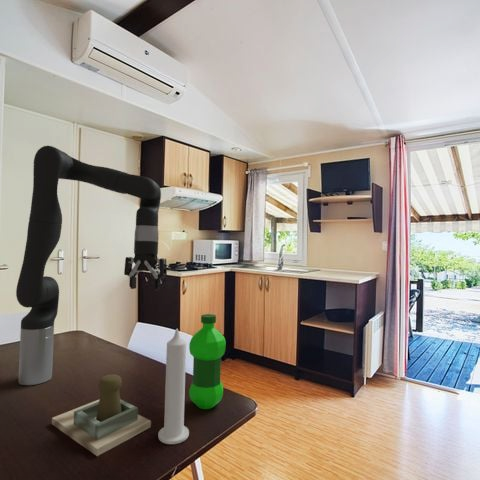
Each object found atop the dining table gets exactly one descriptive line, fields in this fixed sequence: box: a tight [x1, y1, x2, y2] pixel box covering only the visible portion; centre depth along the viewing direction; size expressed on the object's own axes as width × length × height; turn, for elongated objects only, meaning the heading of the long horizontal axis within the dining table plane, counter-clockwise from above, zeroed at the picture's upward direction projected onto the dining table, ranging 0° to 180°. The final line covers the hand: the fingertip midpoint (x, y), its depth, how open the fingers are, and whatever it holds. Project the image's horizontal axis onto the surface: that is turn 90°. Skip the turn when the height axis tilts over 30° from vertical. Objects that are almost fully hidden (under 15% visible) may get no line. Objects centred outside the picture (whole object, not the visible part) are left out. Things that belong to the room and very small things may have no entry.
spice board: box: [51, 398, 152, 457], centre depth 79 cm, size 20×14×4 cm
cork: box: [96, 373, 123, 422], centre depth 78 cm, size 6×6×11 cm
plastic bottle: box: [188, 313, 227, 410], centre depth 91 cm, size 10×10×25 cm
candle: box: [157, 328, 190, 445], centre depth 76 cm, size 7×7×25 cm
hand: (144, 289), depth 105 cm, fingers open, 8 cm apart
